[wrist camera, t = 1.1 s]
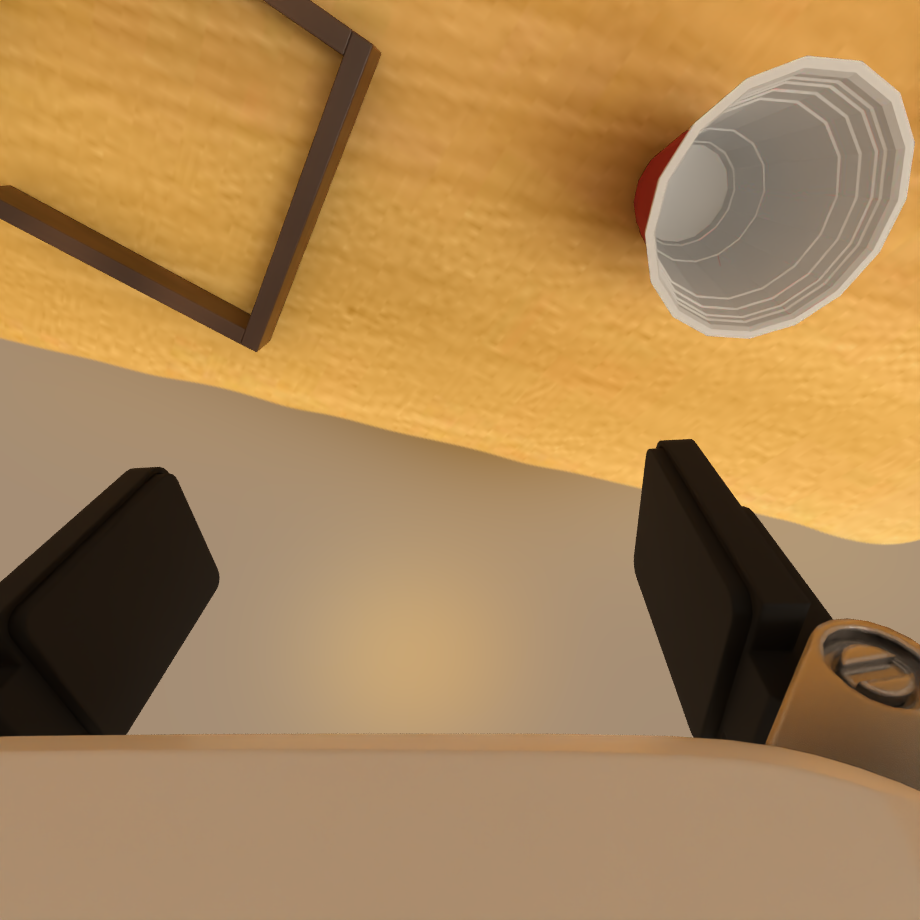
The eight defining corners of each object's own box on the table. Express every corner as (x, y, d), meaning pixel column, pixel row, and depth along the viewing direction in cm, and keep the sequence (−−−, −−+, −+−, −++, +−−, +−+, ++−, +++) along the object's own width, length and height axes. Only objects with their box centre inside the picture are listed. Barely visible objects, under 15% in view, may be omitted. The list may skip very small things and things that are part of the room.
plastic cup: (672, 319, 35) (748, 387, 25) (558, 214, 32) (592, 241, 22) (814, 179, 31) (980, 192, 20) (697, 40, 27) (823, -28, 17)
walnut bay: (8, 203, 33) (-25, 206, 31) (42, -187, 24) (-1, -219, 22) (269, 341, 37) (256, 352, 35) (381, 53, 28) (373, 44, 26)
